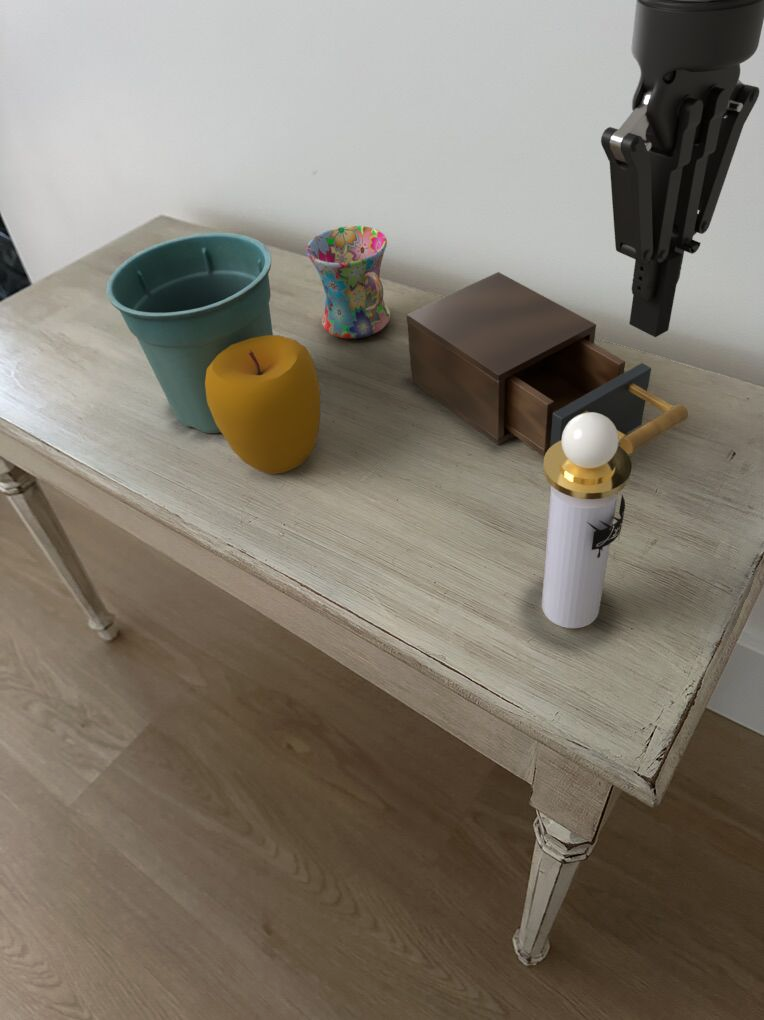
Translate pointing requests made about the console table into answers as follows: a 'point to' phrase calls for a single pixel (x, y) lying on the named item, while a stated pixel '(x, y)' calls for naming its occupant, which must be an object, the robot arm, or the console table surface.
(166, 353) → the flower pot
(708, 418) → the console table surface
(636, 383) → the drawer
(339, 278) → the mug
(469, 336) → the cabinet
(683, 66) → the robot arm
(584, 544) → the perfume bottle
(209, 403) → the apple
